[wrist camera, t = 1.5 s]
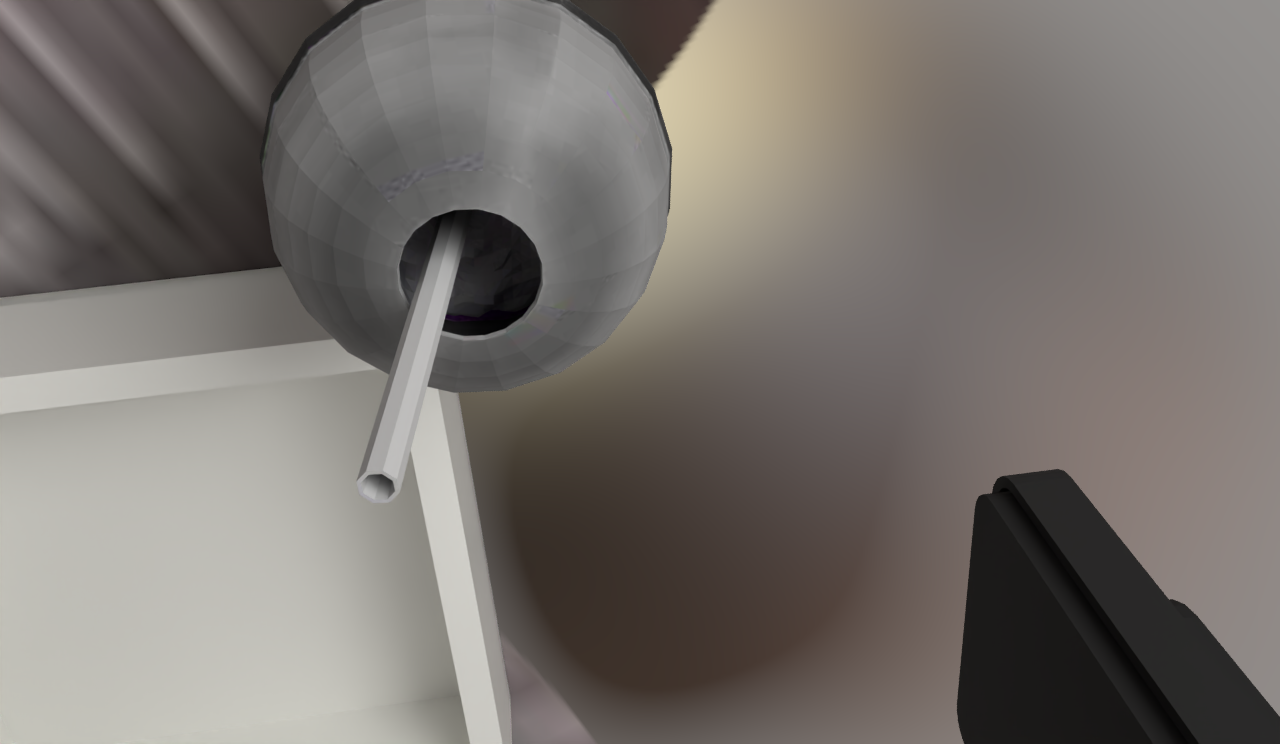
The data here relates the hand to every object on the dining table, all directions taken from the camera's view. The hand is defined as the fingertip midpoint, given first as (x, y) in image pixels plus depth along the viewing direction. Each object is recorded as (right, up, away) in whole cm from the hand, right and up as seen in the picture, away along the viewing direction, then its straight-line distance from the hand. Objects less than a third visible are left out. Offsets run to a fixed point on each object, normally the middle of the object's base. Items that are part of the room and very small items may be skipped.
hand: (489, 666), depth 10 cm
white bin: (-13, -3, +26) cm, 30 cm away
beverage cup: (-3, +12, +20) cm, 23 cm away
